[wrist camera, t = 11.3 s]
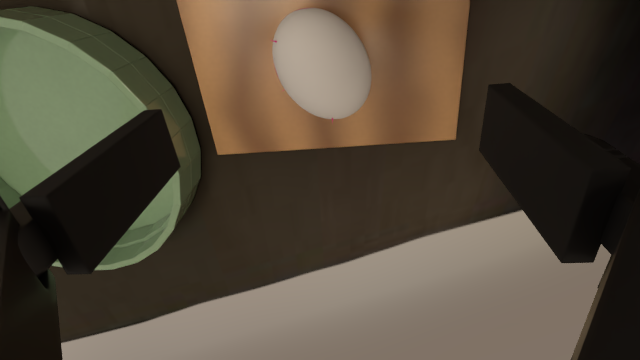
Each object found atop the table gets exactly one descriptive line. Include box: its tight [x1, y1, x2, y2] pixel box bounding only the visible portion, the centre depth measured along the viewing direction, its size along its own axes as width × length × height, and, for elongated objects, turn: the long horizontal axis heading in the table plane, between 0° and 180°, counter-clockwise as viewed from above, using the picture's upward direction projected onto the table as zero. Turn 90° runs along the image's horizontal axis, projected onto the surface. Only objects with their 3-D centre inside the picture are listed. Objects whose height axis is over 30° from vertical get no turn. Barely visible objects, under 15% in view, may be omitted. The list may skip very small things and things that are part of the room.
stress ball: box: [271, 8, 371, 124], centre depth 25 cm, size 8×8×7 cm
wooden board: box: [176, 0, 470, 155], centre depth 26 cm, size 20×14×1 cm
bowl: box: [0, 6, 201, 270], centre depth 29 cm, size 21×21×5 cm
